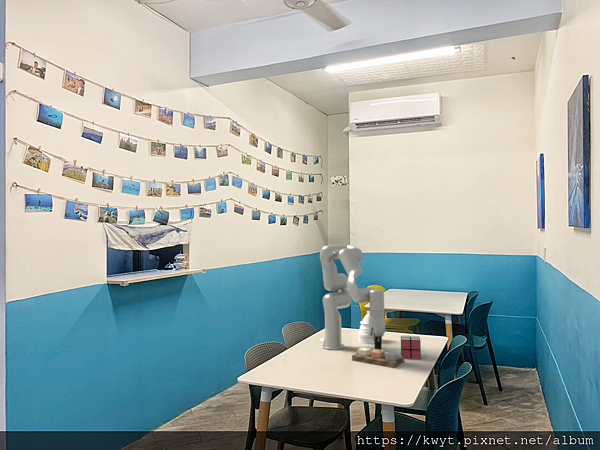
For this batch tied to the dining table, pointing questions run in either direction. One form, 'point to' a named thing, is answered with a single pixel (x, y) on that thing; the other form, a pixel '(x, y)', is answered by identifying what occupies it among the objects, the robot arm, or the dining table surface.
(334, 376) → the dining table surface
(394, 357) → the button sage
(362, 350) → the button cream
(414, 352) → the puzzle cube
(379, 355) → the button terracotta
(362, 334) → the honey pot
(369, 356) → the key panel
